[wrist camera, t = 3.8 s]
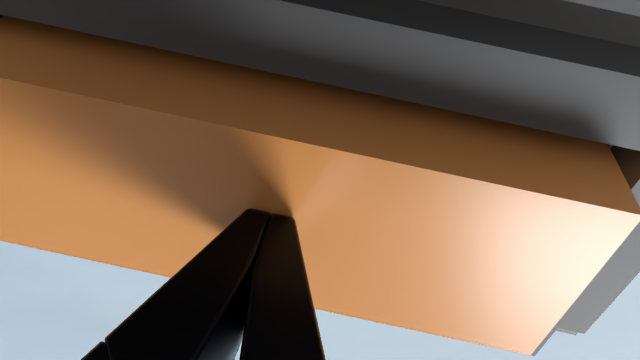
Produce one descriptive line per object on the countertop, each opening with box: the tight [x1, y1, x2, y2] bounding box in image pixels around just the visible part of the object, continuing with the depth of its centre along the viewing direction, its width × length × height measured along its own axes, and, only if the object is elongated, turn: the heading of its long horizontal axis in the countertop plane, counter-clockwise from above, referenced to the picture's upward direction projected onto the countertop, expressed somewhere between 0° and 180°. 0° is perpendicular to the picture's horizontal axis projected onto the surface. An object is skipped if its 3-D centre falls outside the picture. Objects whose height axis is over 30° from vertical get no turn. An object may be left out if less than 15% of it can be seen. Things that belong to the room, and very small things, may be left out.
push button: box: [0, 16, 640, 355], centre depth 10 cm, size 11×4×2 cm, turn 81°
